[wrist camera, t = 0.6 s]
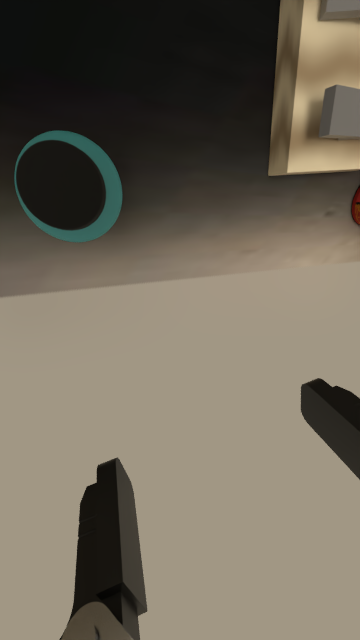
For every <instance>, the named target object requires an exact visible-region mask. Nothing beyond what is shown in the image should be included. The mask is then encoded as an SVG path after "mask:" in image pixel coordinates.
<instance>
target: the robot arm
mask: <svg viewBox="0 0 360 640" xmlns="http://www.w3.org/2000/svg"><path fill="white" fill-rule="evenodd" d="M301 412H302V415H303V417H304V419H305V420H306V422H307V423H308V424H309V425H310V426H311V427H312V428H313V429H314V431H315V432H316V433H317V434H318V435H319V436H320V437H321V438H322V439H323V440H324V441H325V443H327V445H328V446H329V447H330V448H331V449H332V450H333V451H334V452H335V453H336V454H337V455H338V457H339V458H340V459H341V460H342V461H343V462H344V463H345V464H346V465H347V466H348V467H349V468H350V470H351V471H352V472H353V473H354V474H355V475H356V476H357V477H358V478H359V479H360V399H359V398H358V397H357V396H356V395H354V394H353V393H352V392H350V391H348V390H345V389H343V388H341V387H338V386H335V387H331V386H330V385H329V384H327V383H326V382H325V381H324V380H322V379H319V378H318V379H315V380H312V381H310V382H308V383H305V384H303V385H302V386H301ZM79 523H80V524H79V531H78V537H79V540H78V545H77V562H76V576H75V592H74V593H75V594H74V603H73V609H72V613H71V616H70V620H69V622H68V624H67V627H66V629H65V631H64V633H63V635H62V636H61V638H60V640H140V635H139V624H138V616H139V615H141V614H143V613H145V612H147V604H146V595H145V586H144V578H143V569H142V561H141V553H140V543H139V535H138V526H137V517H136V508H135V500H134V493H133V488H132V485H131V481H130V479H129V477H128V475H127V473H126V472H125V470H124V468H123V466H122V464H121V462H120V460H119V459H118V458H115V459H112V460H110V461H107V462H105V463H102V464H100V465H98V467H97V483H95V484H92V485H90V486H87V488H86V490H85V493H84V495H83V498H82V500H81V503H80V516H79Z"/></svg>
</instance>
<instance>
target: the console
mask: <svg viewBox="0 0 360 640" xmlns="http://www.w3.org/2000/svg"><path fill="white" fill-rule="evenodd" d="M321 2H322V0H281V1H280V15H279V29H278V44H277V58H276V72H275V86H274V100H273V114H272V128H271V142H270V156H269V170H268V176H277V175H294V174H312V173H329V172H347V171H356V170H360V140H357V139H350V140H338V138H322V137H318V136H319V129H320V121H321V114H322V107H323V99H324V92H325V89H326V88H329V87H331V86H334V85H336V84H338V85H342V86H347V87H352V88H357V89H360V20H359V18H360V17H357V18H343V19H330V20H319V19H320V10H321Z"/></svg>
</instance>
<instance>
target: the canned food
mask: <svg viewBox="0 0 360 640" xmlns="http://www.w3.org/2000/svg"><path fill="white" fill-rule="evenodd" d="M352 215H353V218H354V220H355V222H357V223H358V224H359V225H360V187H359V189H358V190H357V192H356V194H355V196H354V199H353V204H352Z"/></svg>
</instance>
